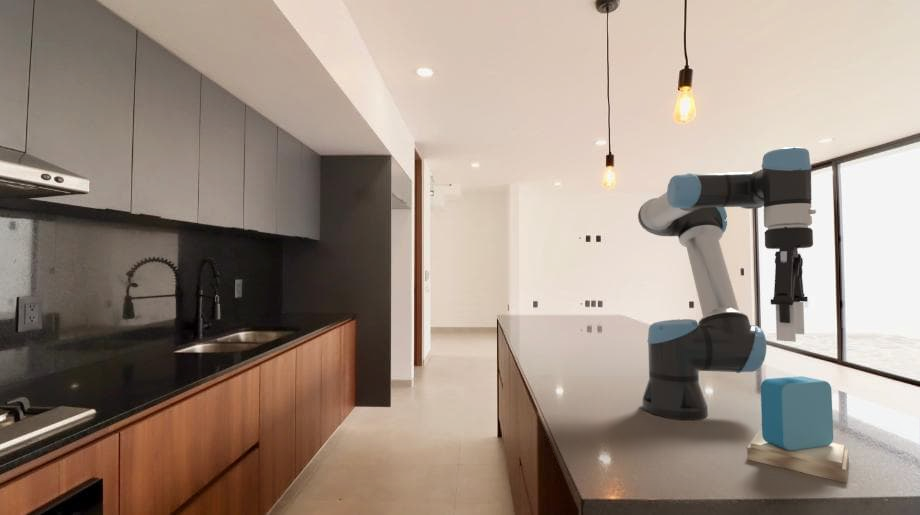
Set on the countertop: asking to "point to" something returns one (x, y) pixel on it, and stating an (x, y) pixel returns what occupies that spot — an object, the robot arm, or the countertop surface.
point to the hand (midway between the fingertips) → (791, 337)
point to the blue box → (797, 412)
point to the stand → (802, 458)
